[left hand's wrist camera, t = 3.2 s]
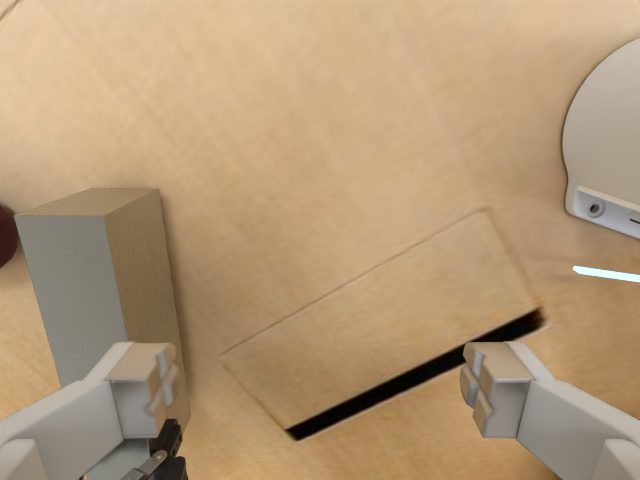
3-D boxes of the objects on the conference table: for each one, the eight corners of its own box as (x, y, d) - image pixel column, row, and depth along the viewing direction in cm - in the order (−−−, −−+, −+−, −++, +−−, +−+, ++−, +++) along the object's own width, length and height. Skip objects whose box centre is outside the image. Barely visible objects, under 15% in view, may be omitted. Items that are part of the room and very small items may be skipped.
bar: (91, 188, 33) (13, 215, 25) (158, 188, 33) (103, 215, 25) (137, 415, 42) (90, 492, 33) (191, 415, 42) (157, 493, 33)
